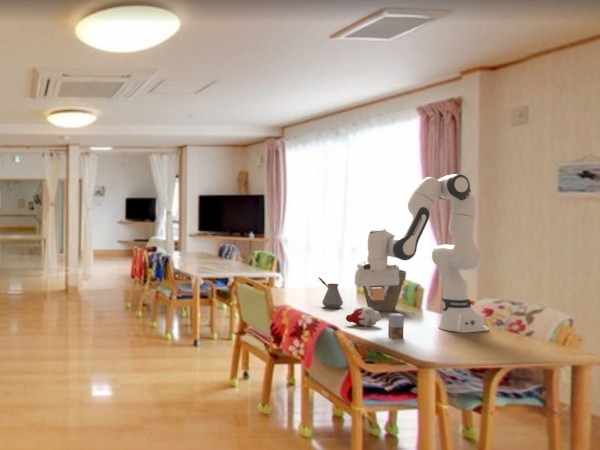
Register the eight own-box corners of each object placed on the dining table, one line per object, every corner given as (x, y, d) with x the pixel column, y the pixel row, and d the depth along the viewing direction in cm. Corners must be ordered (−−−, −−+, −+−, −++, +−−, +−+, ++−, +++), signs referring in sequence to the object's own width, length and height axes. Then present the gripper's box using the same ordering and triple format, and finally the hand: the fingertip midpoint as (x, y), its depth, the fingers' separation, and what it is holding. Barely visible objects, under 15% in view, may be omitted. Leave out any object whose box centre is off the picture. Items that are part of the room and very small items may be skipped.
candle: (382, 326, 291) (352, 331, 287) (372, 321, 302) (343, 326, 298) (380, 307, 290) (350, 312, 286) (371, 303, 301) (342, 307, 297)
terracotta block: (380, 298, 282) (380, 287, 282) (384, 300, 277) (384, 288, 277) (370, 298, 281) (370, 287, 281) (373, 300, 276) (373, 289, 276)
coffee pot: (346, 308, 341) (347, 281, 340) (329, 309, 335) (329, 282, 335) (326, 302, 360) (327, 276, 359) (309, 303, 354) (310, 277, 353)
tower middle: (399, 324, 272) (399, 313, 272) (403, 327, 267) (403, 315, 267) (388, 325, 271) (388, 313, 271) (392, 327, 266) (392, 315, 266)
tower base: (399, 336, 272) (399, 324, 272) (403, 338, 267) (403, 327, 267) (388, 336, 271) (388, 325, 271) (392, 338, 266) (392, 327, 266)
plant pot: (403, 306, 350) (404, 268, 349) (406, 314, 326) (407, 273, 325) (359, 304, 353) (359, 266, 352) (359, 312, 328) (359, 271, 327)
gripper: (396, 263, 284) (396, 293, 284) (353, 264, 280) (353, 295, 280) (401, 265, 278) (401, 296, 278) (357, 266, 274) (357, 297, 274)
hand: (377, 295), depth 279 cm, fingers closed on terracotta block, 5 cm apart
